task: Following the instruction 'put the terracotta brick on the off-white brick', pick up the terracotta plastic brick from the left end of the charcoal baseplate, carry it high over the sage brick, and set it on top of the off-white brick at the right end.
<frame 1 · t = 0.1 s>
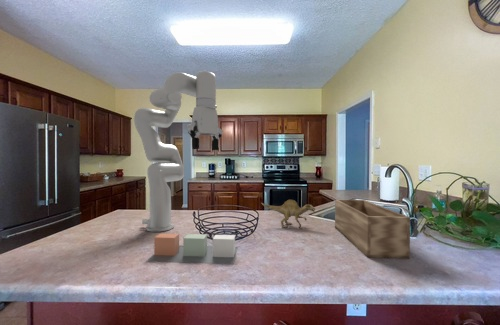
hand: (205, 149, 83), 37 cm above the countertop, tool pointing down, fingers open, 9 cm apart
baseplate: (195, 255, 74), on the countertop
terracotta brick: (167, 252, 74), point 1 cm above the countertop, touching baseplate
dinosaur figurine: (287, 226, 108), on the countertop
sage brick: (195, 253, 74), point 1 cm above the countertop, touching baseplate
toy crate: (365, 240, 89), on the countertop
offwhite brick: (224, 254, 73), point 1 cm above the countertop, touching baseplate
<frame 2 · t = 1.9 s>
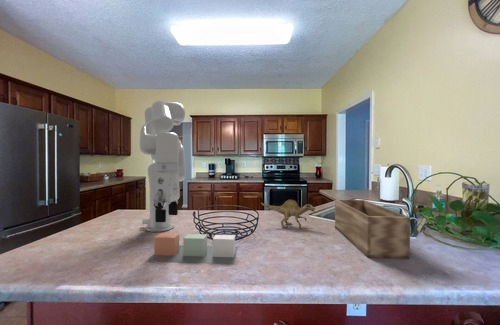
hand: (167, 218, 74), 13 cm above the countertop, tool pointing down, fingers open, 9 cm apart
nothing on the countertop moved.
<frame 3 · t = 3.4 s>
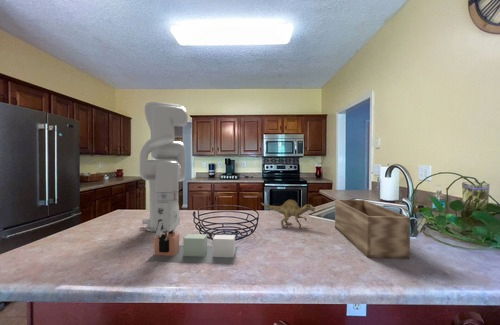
hand: (167, 248, 74), 2 cm above the countertop, tool pointing down, fingers closed on terracotta brick, 3 cm apart
terracotta brick: (167, 252, 74), point 1 cm above the countertop, touching baseplate, gripper
everything else where it was.
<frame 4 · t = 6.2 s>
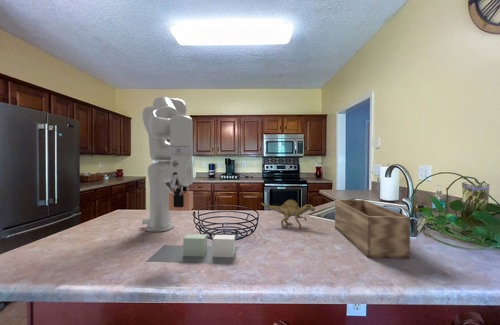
hand: (181, 205, 74), 18 cm above the countertop, tool pointing down, fingers closed on terracotta brick, 3 cm apart
terracotta brick: (181, 209, 74), point 16 cm above the countertop, touching gripper
everything else where it was.
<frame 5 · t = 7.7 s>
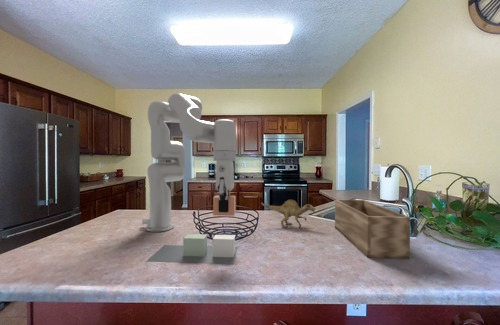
hand: (224, 209, 73), 16 cm above the countertop, tool pointing down, fingers closed on terracotta brick, 3 cm apart
terracotta brick: (224, 214, 73), point 15 cm above the countertop, touching gripper
everything else where it was.
when the fingers open (9 cm above the countertop, at t = 9.1 s): terracotta brick stays where it is, resting on offwhite brick.
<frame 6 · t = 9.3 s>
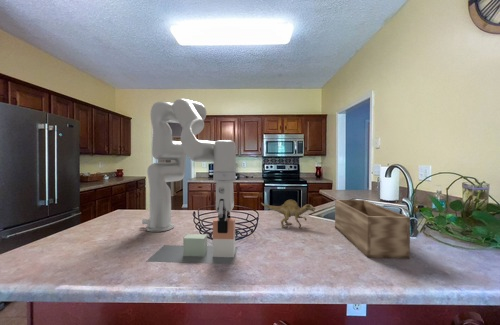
hand: (224, 229, 73), 10 cm above the countertop, tool pointing down, fingers open, 5 cm apart
terracotta brick: (224, 236, 73), point 7 cm above the countertop, touching offwhite brick
offwhite brick: (224, 254, 73), point 1 cm above the countertop, touching baseplate, terracotta brick
everything else where it was.
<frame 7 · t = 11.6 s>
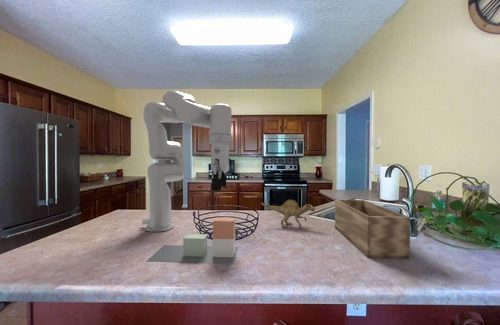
hand: (219, 188, 76), 23 cm above the countertop, tool pointing down, fingers open, 9 cm apart
nothing on the countertop moved.
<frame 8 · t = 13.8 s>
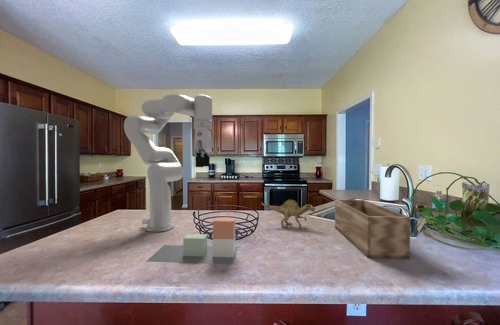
hand: (202, 166, 90), 30 cm above the countertop, tool pointing down, fingers open, 9 cm apart
nothing on the countertop moved.
at the end: terracotta brick 0.1 cm off-centre on the offwhite brick, point 6.0 cm above the offwhite brick's base; sage brick moved 0.0 cm from its start; offwhite brick moved 0.0 cm from its start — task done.
